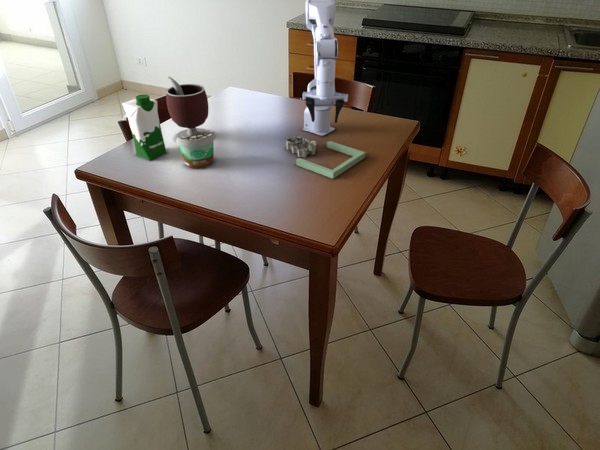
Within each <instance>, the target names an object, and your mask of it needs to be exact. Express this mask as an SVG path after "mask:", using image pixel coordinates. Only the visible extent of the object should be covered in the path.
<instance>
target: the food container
mask: <svg viewBox="0 0 600 450" xmlns="http://www.w3.org/2000/svg"><path fill="white" fill-rule="evenodd" d="M215 140H216V135H215V132H214V131H213V129H211V132H210V133H207V134H197V135H192V136H190V137H186V138H182V139H180V138H178V137H177V139H176V138H175V143H176V145H177V146H179V150H180V153H181V157H182V160H183V163H184V166H185V167H187V168H189V169H192V170H201V169H207V168H208V167H210V166H212V165H213V164H214V162H215V153H214V149H215V148H214V142H215Z"/></svg>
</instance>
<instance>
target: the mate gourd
mask: <svg viewBox="0 0 600 450" xmlns="http://www.w3.org/2000/svg"><path fill="white" fill-rule="evenodd" d="M167 79H168V80H169V81H170V82H171V85H172V86H171V87H168V88H167V89H166V91H165V93H166V95H165V96H166V97H165V98H166V107H167V111H168V113H169V116H170V118H171V121H172V122H173V123H175V124H176V125H177V126H178V127H180V128H185V129H184V130H180V131H179V132H178V133H177V134H176V135H175V140H176V139H177V137H178V138H180V139H182V138H186V137H190V136H192V135H197V134H207V133H211V132H210V131H209V130H208V129H206V128H199V126H202V125H203V124H205V122H206V121H207V119H208V117H209V100H208V96H207V92H206V89H205V86H203V85H201V84H196V83H183V84H180V83H178V81H176V80H175V79H174V78H172V77H171V76H168V77H167Z"/></svg>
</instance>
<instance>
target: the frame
mask: <svg viewBox="0 0 600 450" xmlns="http://www.w3.org/2000/svg"><path fill="white" fill-rule="evenodd" d="M326 148H327V149H330V150H333V151H336V152H339V153H342V154H345V155H347V156H348V155H349V156H351V157H350V158H349V159H347V160H345V161H343V162H342V163H340V164H339V165H338V166H337V165H336V166H335V167H334V168H333V169H331V168H328V167H325V166H323V165H320V164H317V163H314V162H312V161H309V160H306V159H304V158H302V157H298V158H296V160H295V165H296V166H297V167H300V168H303V169H306V170H308V171H310V172H313V173H316V174H318V175H322V176H324V177H328V178H329V179H333V180H334V179H335V178H337V177H338V176H340V175H342V174H343V173H344V172H346V171H347V170H349V169H351V168H352V167H354V166H355V165H356V164H358V163H359V162H360V161H362V160H364V159H365V158H366V152H365V151H363V150H359V149H357V148H353V147H350V146H347V145H344V144H340V143H337V142H334V141H333V140H332V141H331V140H327V142H326Z"/></svg>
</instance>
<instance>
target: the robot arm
mask: <svg viewBox="0 0 600 450" xmlns="http://www.w3.org/2000/svg"><path fill="white" fill-rule="evenodd" d="M304 9H305V25H306V29H308V30H310V31H311V34H312V39H313V65H314V66H313V67H314V79H312V80H311V81H310V82H309V83H308V85H307V91H303V92H302V101H305V106H306V107H305V108H304V111H303V113H304V114H303V128H302V131H305V132H308V133H312V134H315V135H318V136H321V137H323V136H326V135H328V134H329V133H331V132H333V131H335V130H336V128H335V127H333V126H331V122H332V121H331V119H332V118H331V117H332V108H333V107H334V106H335V115H334V124H338V120H339V115H340V113H341V110H342V109H343V107H344V104H345V103H348V100H349V94H348V93H341V92H336V84H335V82H336V63H337V61H336V60H337V59H338V56H339V43H338V39H337V38H336V37H335V32H334V28H333V26H334V23H335V17H336V1H335V0H305V8H304Z"/></svg>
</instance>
